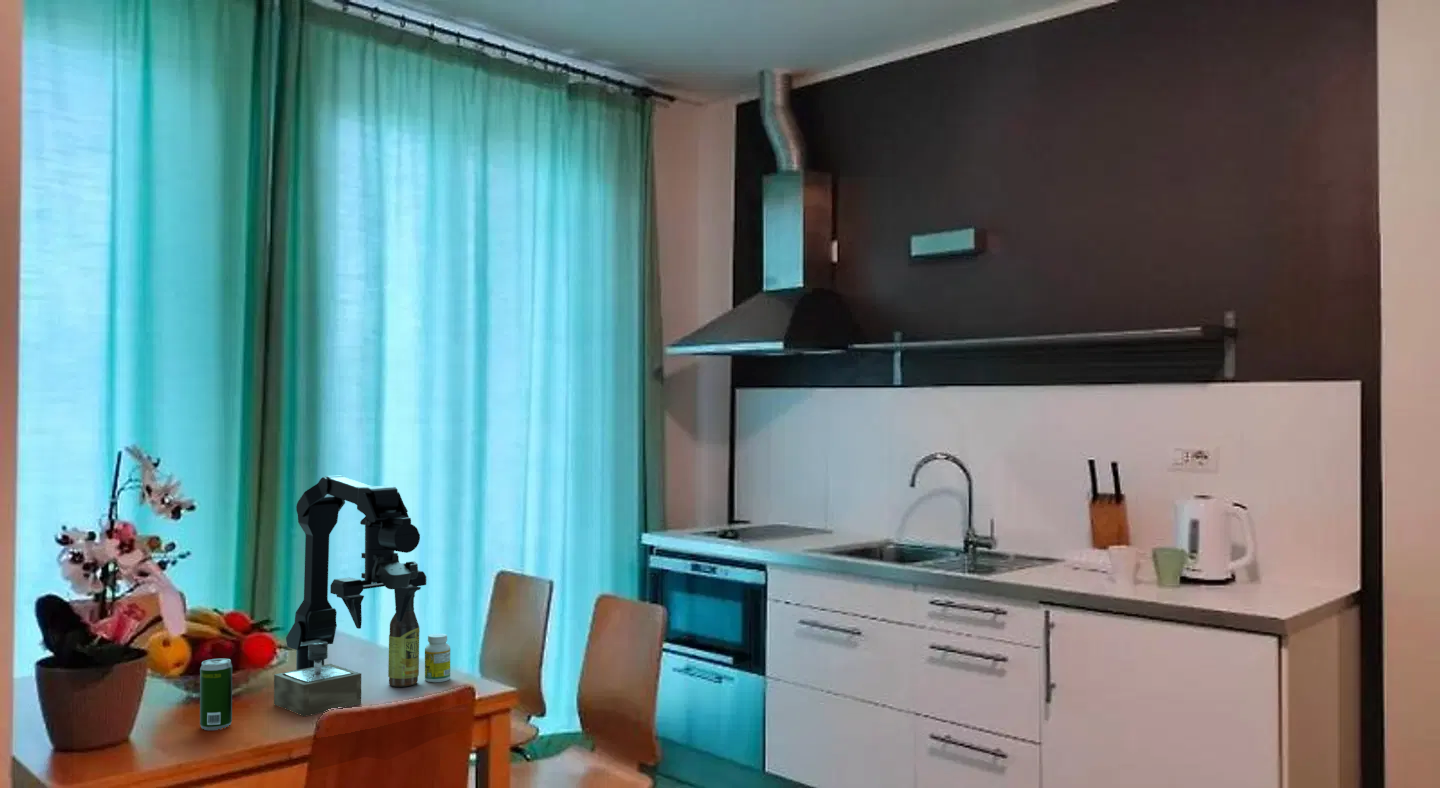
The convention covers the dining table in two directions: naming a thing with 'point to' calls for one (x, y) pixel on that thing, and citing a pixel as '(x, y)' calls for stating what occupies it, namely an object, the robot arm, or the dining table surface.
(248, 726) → the dining table surface
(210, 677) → the beer can
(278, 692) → the frame
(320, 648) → the plunger
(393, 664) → the sauce bottle
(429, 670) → the supplement bottle
